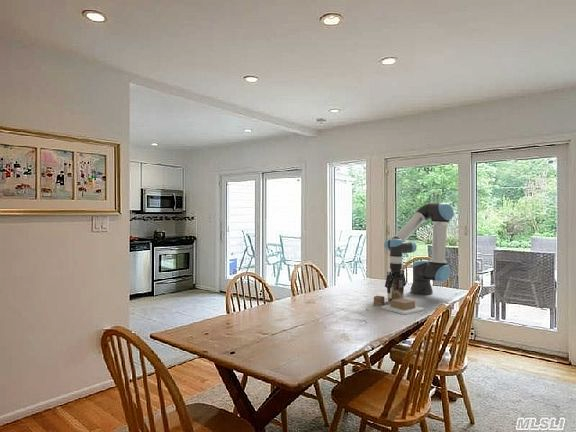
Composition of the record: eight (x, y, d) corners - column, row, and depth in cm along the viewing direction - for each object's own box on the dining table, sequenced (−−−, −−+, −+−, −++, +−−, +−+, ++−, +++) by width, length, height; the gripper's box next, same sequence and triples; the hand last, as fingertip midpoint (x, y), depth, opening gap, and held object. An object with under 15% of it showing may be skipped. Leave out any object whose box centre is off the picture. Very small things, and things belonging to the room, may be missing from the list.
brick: (376, 303, 251) (377, 295, 251) (384, 304, 248) (384, 296, 248) (373, 304, 247) (373, 296, 247) (381, 306, 244) (381, 297, 244)
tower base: (400, 304, 249) (400, 296, 249) (425, 310, 234) (425, 301, 234) (381, 308, 239) (381, 299, 238) (405, 314, 224) (405, 305, 224)
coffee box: (401, 301, 256) (402, 276, 256) (403, 303, 250) (404, 278, 250) (387, 301, 257) (387, 276, 257) (388, 303, 251) (389, 278, 250)
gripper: (403, 260, 263) (402, 294, 263) (379, 263, 250) (378, 298, 250) (412, 262, 256) (411, 296, 257) (388, 264, 243) (387, 300, 244)
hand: (395, 297), depth 253 cm, fingers closed on coffee box, 10 cm apart
